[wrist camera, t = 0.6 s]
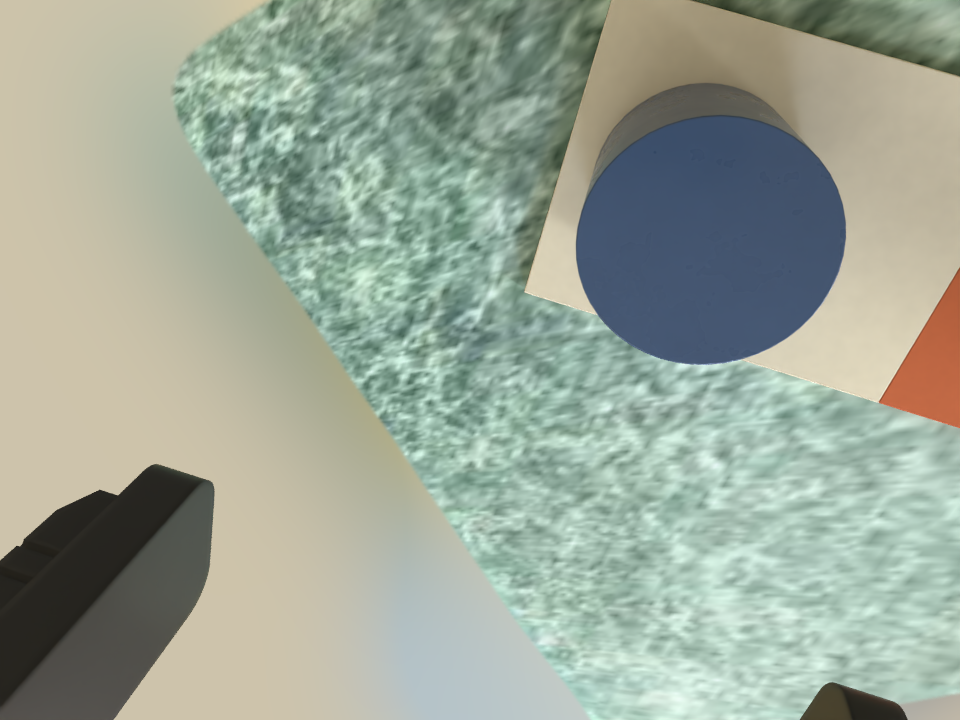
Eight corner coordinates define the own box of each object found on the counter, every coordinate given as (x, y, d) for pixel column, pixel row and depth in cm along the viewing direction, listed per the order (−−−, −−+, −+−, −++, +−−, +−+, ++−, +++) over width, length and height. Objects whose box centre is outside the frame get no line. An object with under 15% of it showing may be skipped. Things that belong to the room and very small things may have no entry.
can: (630, 56, 27) (623, 81, 21) (841, 117, 26) (898, 160, 20) (566, 252, 30) (545, 323, 24) (751, 309, 30) (776, 395, 24)
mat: (618, -21, 26) (617, -21, 26) (1392, 198, 24) (1403, 201, 24) (525, 289, 32) (523, 292, 32) (1146, 482, 30) (1152, 488, 30)
